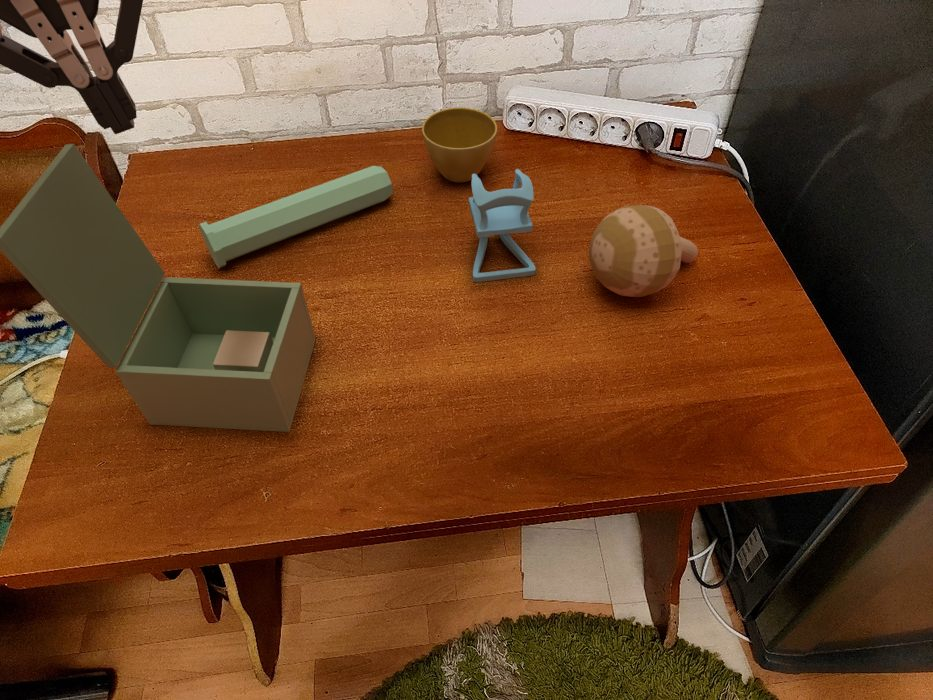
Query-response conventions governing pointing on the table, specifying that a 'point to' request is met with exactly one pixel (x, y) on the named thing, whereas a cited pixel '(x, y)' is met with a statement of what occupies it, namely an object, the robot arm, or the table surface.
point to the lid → (82, 255)
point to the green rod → (295, 214)
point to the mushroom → (638, 250)
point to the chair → (502, 223)
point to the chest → (196, 345)
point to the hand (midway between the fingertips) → (125, 127)
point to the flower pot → (459, 141)
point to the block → (243, 351)
